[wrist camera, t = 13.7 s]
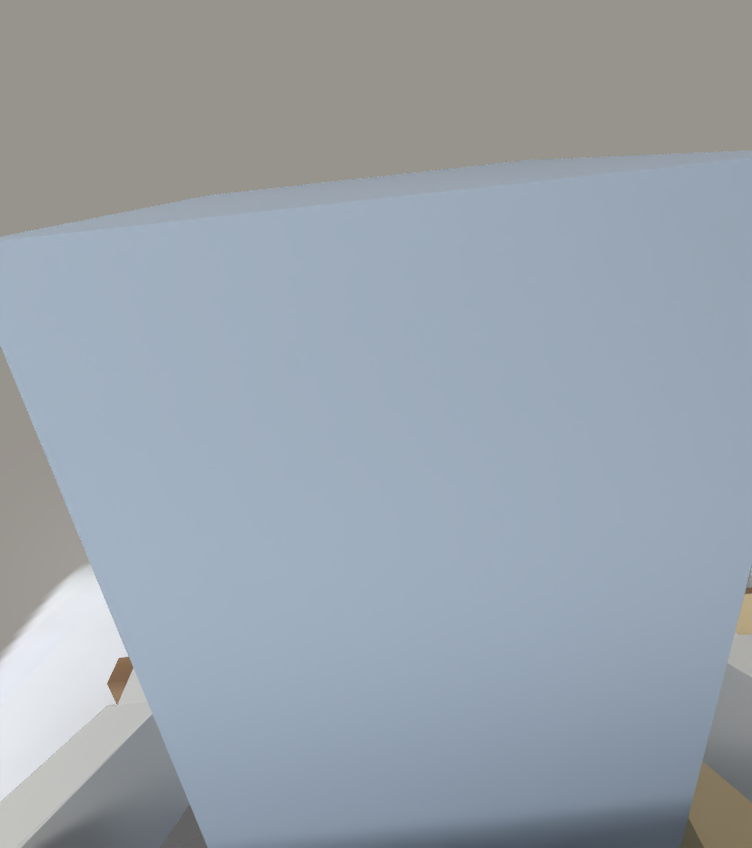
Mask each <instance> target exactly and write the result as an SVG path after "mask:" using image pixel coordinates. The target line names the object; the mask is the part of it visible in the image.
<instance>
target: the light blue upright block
mask: <svg viewBox="0 0 752 848" xmlns="http://www.w3.org/2000/svg"><path fill="white" fill-rule="evenodd" d="M0 345H1V348H2V350H3V353H4V355H5V358H6V360H7V362H8V365H9V367H10V370H11V372H12V375H13V377H14V379H15V382H16V384H17V387H18V389H19V392H20V394H21V396H22V399H23V401H24V404H25V406H26V409H27V411H28V413H29V416H30V418H31V421H32V423H33V425H34V428H35V430H36V433H37V435H38V437H39V440H40V442H41V445H42V447H43V450H44V452H45V454H46V457H47V459H48V462H49V464H50V467H51V469H52V471H53V474H54V476H55V479H56V481H57V484H58V486H59V489H60V491H61V493H62V496H63V498H64V501H65V503H66V505H67V508H68V510H69V512H70V515H71V517H72V520H73V522H74V525H75V527H76V530H77V532H78V535H79V537H80V539H81V542H82V544H83V546H84V549H85V552H86V554H87V556H88V559H89V561H90V564H91V566H92V568H93V571H94V573H95V576H96V578H97V581H98V583H99V585H100V588H101V590H102V593H103V595H104V598H105V600H106V602H107V605H108V607H109V610H110V612H111V615H112V617H113V619H114V622H115V624H116V627H117V629H118V631H119V634H120V636H121V639H122V641H123V644H124V646H125V648H126V651H127V653H128V656H129V658H130V661H131V663H132V665H133V668H134V670H135V673H136V675H137V678H138V680H139V682H140V685H141V687H142V690H143V692H144V694H145V697H146V699H147V702H148V704H149V707H150V709H151V711H152V714H153V716H154V719H155V721H156V724H157V726H158V728H159V731H160V733H161V736H162V738H163V741H164V743H165V745H166V748H167V750H168V753H169V755H170V757H171V760H172V762H173V765H174V767H175V770H176V772H177V774H178V777H179V779H180V782H181V784H182V787H183V789H184V791H185V794H186V796H187V799H188V801H189V804H190V806H191V808H192V811H193V813H194V816H195V818H196V821H197V823H198V825H199V828H200V830H201V833H202V835H203V837H204V840H205V842H206V845H207V847H208V848H681V844H682V840H683V836H684V832H685V828H686V824H687V820H688V816H689V812H690V808H691V804H692V800H693V796H694V793H695V789H696V785H697V781H698V777H699V773H700V769H701V765H702V761H703V757H704V753H705V749H706V745H707V741H708V737H709V733H710V729H711V725H712V721H713V717H714V713H715V709H716V705H717V701H718V697H719V693H720V690H721V686H722V682H723V678H724V674H725V670H726V666H727V662H728V658H729V654H730V650H731V646H732V642H733V638H734V634H735V630H736V626H737V622H738V618H739V614H740V610H741V606H742V602H743V598H744V594H745V591H746V587H747V583H748V579H749V575H750V571H751V567H752V151H728V152H707V153H706V152H704V153H681V154H661V155H660V154H657V155H634V156H613V157H587V158H564V159H540V160H525V161H517V162H506V163H497V164H488V165H479V166H470V167H462V168H452V169H443V170H434V171H425V172H416V173H407V174H398V175H389V176H379V177H370V178H361V179H352V180H344V181H334V182H325V183H317V184H308V185H298V186H289V187H280V188H271V189H262V190H253V191H244V192H234V193H225V194H216V195H208V196H203V197H198V198H193V199H188V200H184V201H178V202H173V203H168V204H163V205H158V206H153V207H148V208H143V209H138V210H133V211H128V212H123V213H118V214H113V215H108V216H103V217H97V218H92V219H88V220H82V221H77V222H72V223H68V224H62V225H57V226H52V227H47V228H42V229H37V230H32V231H27V232H22V233H17V234H12V235H7V236H2V237H0Z"/></svg>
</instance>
